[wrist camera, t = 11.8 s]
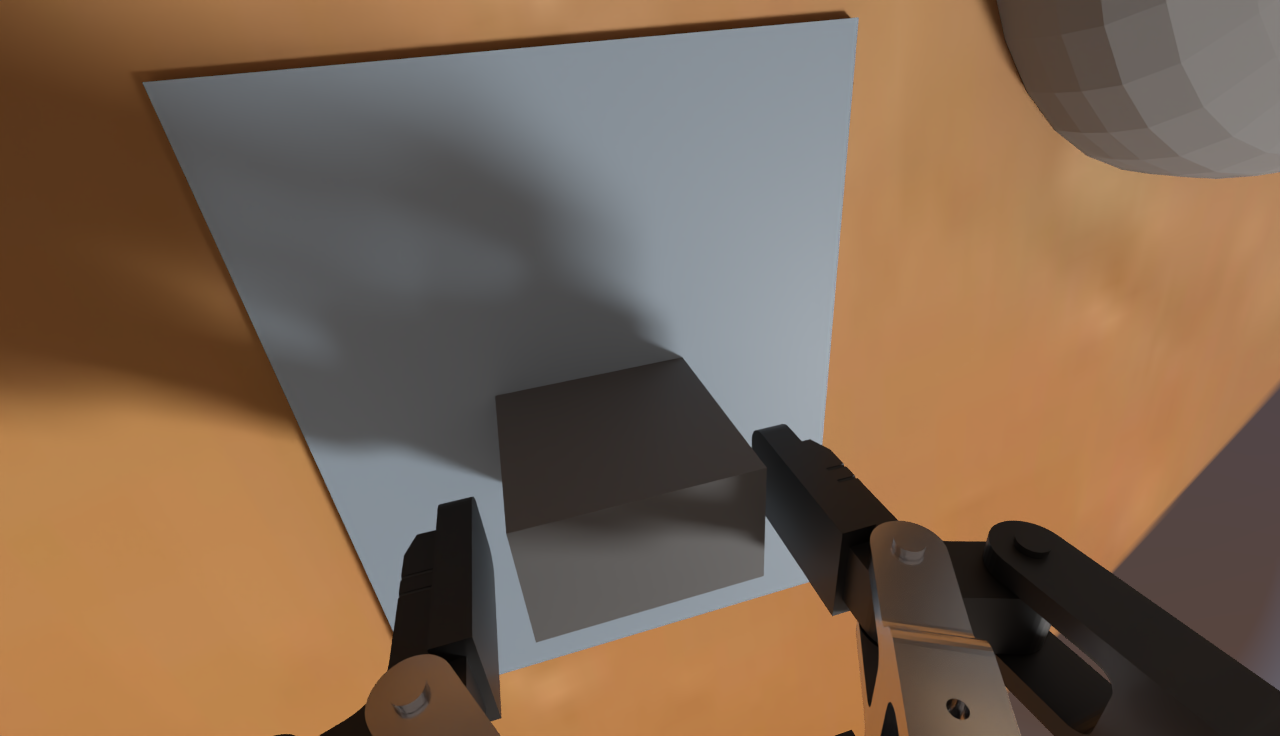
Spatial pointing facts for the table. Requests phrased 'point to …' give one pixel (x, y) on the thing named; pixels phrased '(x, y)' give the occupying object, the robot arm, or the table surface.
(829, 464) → the robot arm
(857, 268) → the table surface
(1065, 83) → the grey thick disc
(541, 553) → the lid
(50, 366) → the table surface
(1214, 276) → the table surface
